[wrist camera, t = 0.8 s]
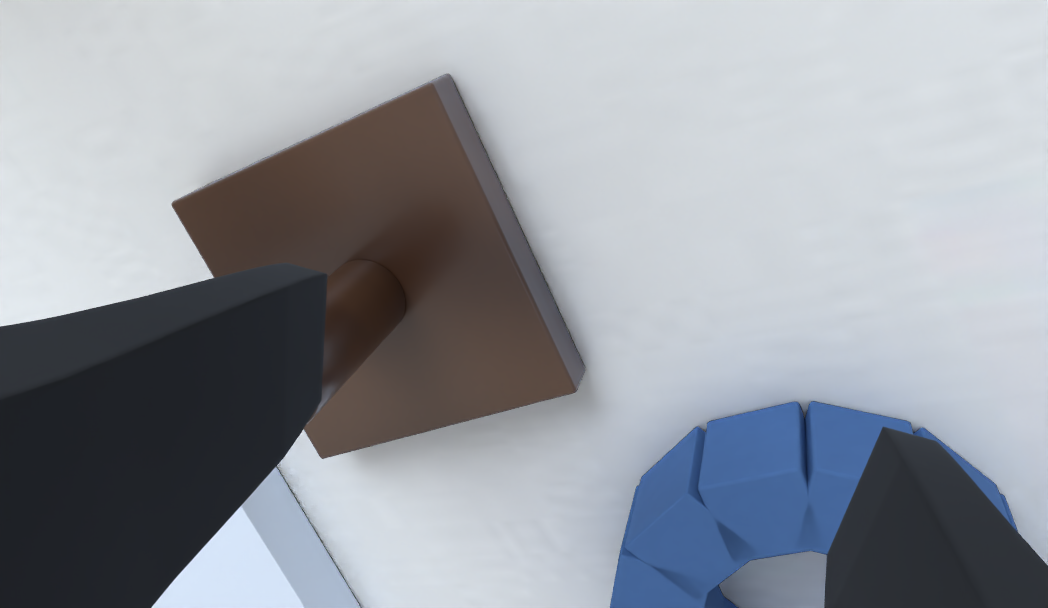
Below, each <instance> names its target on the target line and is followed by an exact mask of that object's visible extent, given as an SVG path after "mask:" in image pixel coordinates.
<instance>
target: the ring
mask: <svg viewBox="0 0 1048 608" xmlns="http://www.w3.org/2000/svg"><path fill="white" fill-rule="evenodd" d="M883 426H884V427H887V428H891V429H894V430H898V431H902V432H905V433H909V434H913V431H912V427H911V423H910V422H908V421H905V420H900V419H895V418H890V417H886V416H881V415H876V414H871V413H867V412H862V411H857V410H852V409H847V408H843V407H838V406H833V405H828V404H824V403H819V402H814V401H813V402H811V403H810V404H809V406H808V410H807V413H806V417H805V418H804V415H803V412H802V410H801V407H800V404H799V403H798V402H791V403H787V404H782V405H778V406H774V407H769V408H765V409H761V410H756V411H752V412H748V413H743V414H739V415H735V416H730V417H726V418H722V419H717V420H713V421H709V422H708V423H707V428H706V432H705V431H703V430H702V429H701V428H699V427H698V426H697V427H696V428H694V429H693V430H692V431H691V432H690V433H689V434H688V435H687V436H686V437H685V438H684V439H682V440H681V441H680V442H679V443H678V444H677V445H676V446H675V447H674V448H673V449H672V450H671V451H669V452H668V453H667V454H666V455H665V456H664V457H663V458H662V459H661V460H660V461H659V462H658V463H656V464H655V465H654V466H653V467H652V468H651V469H650V470H649V471H648V472H647V473H646V474H644V475H643V476H642V478H641V481H640V485H639V486H637V487H636V490H635V494H634V498H633V502H632V506H631V510H630V514H629V518H628V522H627V526H626V530H625V534H624V538H623V542H622V546H621V550H620V554H619V559H618V565H617V571H616V576H615V582H614V587H613V593H612V599H611V604H610V608H738V607H737V606H735V605H734V604H733V603H731V602H730V601H729V600H728V599H726V598H725V597H724V596H723V595H722V592H721V590H720V588H719V586H718V585H719V584H720V583H721V582H722V581H724V580H725V579H726V578H728V577H729V576H730V575H732V574H733V573H734V572H736V571H737V570H738V569H739V568H741V567H742V566H743V565H745V564H746V563H747V562H749V561H750V560H756V559H762V558H768V557H775V556H781V555H787V554H794V553H800V552H806V551H814V552H818V553H822V554H826V555H827V553H828V551H829V549H830V547H831V544H832V542H833V540H834V537H835V535H836V533H837V531H838V528H839V526H840V524H841V521H842V519H843V517H844V515H845V512H846V510H847V508H848V505H849V503H850V501H851V498H852V496H853V494H854V492H855V489H856V487H857V485H858V482H859V480H860V478H861V476H862V473H863V471H864V469H865V466H866V464H867V462H868V459H869V457H870V455H871V453H872V450H873V448H874V446H875V443H876V441H877V439H878V437H879V434H880V432H881V430H882V427H883ZM913 435H916V436H920V437H924V438H927V439H931V440H934V441H937V442H938V443H939V444H940V445H941V446H942V447H943V448H944V449H945V450H946V451H947V452H948V453H949V454H950V455H951V456H952V457H953V458H954V459H955V460H956V462H957V463H958V464H959V465H960V466H961V467H962V468H963V469H964V471H965V472H966V473H967V474H968V475H969V476H970V477H971V479H972V480H973V481H974V482H975V483H976V484H977V486H978V487H979V488H980V489H981V490H982V491H983V493H984V494H985V495H986V496H987V497H988V498H989V500H990V501H991V502H992V503H993V504H994V505H995V507H996V508H997V509H998V510H999V511H1000V512H1001V514H1002V515H1003V516H1004V517H1005V518H1006V519H1007V520H1008V522H1009V523H1010V524H1011V525H1012V526H1013V527H1014V529H1015V530H1016V531H1017V528H1016V525H1015V523H1014V520H1013V517H1012V515H1011V512H1010V509H1009V507H1008V504H1007V501H1006V499H1005V496H1004V495H1002V494H999V491H998V488H997V486H996V484H995V483H993V482H992V481H991V480H989V479H988V478H987V477H986V476H984V475H983V474H982V473H981V472H979V471H978V470H977V469H976V468H974V467H973V466H972V465H970V464H969V463H968V462H967V461H965V460H964V459H963V458H962V457H960V456H959V455H958V454H956V453H955V452H954V451H953V450H951V449H950V448H949V447H948V446H946V445H945V444H944V443H942V442H941V441H940V440H939V439H937V438H936V437H935V436H934V435H932V434H931V433H930V432H928V431H927V430H926V429H925V428H920V429H919V430H918V431H916V432H915V433H914V434H913ZM1017 532H1018V531H1017Z"/></svg>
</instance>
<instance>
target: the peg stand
mask: <svg viewBox="0 0 1048 608" xmlns="http://www.w3.org/2000/svg"><path fill="white" fill-rule="evenodd" d="M172 207H173V209H174V210H175V212H176V214H177V215H178V217H179V219H180V221H181V222H182V224H183V226H184V227H185V229H186V231H187V232H188V234H189V236H190V237H191V239H192V241H193V243H194V244H195V246H196V248H197V249H198V251H199V253H200V254H201V256H202V258H203V259H204V261H205V263H206V265H207V266H208V268H209V270H210V271H211V273H212V275H213V276H214V278H216V277H220V276H224V275H228V274H232V273H236V272H240V271H244V270H248V269H252V268H257V267H261V266H266V265H272V264H279V263H290V264H294V265H297V266H301V267H305V268H308V269H312V270H315V271H319V272H323V273H326V274H327V295H326V316H325V337H324V357H323V378H322V399H321V402H320V404H319V405H318V407H317V408H316V410H315V411H314V413H313V415H312V416H311V418H310V419H309V421H308V422H307V424H306V426H305V427H304V430H305V432H306V434H307V436H308V437H309V439H310V441H311V442H312V444H313V446H314V447H315V449H316V451H317V453H318V454H319V456H320V457H321V458H322V459H324V458H328V457H332V456H335V455H339V454H343V453H347V452H351V451H354V450H358V449H362V448H366V447H370V446H374V445H377V444H381V443H385V442H389V441H393V440H396V439H400V438H404V437H408V436H412V435H416V434H419V433H423V432H427V431H431V430H435V429H438V428H442V427H446V426H450V425H454V424H458V423H461V422H465V421H469V420H473V419H477V418H480V417H484V416H488V415H492V414H496V413H500V412H503V411H507V410H511V409H515V408H519V407H522V406H526V405H530V404H534V403H538V402H541V401H545V400H549V399H553V398H557V397H561V396H564V395H568V394H572V393H575V392H576V391H577V389H578V387H579V384H580V382H581V380H582V377H583V375H584V372H585V367H584V364H583V362H582V360H581V358H580V356H579V354H578V351H577V349H576V347H575V345H574V343H573V341H572V338H571V336H570V334H569V332H568V330H567V328H566V325H565V323H564V321H563V319H562V317H561V315H560V312H559V310H558V308H557V306H556V304H555V301H554V299H553V297H552V295H551V293H550V291H549V288H548V286H547V284H546V282H545V280H544V278H543V275H542V273H541V271H540V269H539V267H538V265H537V262H536V260H535V258H534V256H533V254H532V251H531V249H530V247H529V245H528V243H527V241H526V238H525V236H524V234H523V232H522V230H521V228H520V225H519V223H518V221H517V219H516V217H515V215H514V212H513V210H512V208H511V206H510V204H509V202H508V199H507V197H506V195H505V193H504V191H503V188H502V186H501V184H500V182H499V180H498V178H497V175H496V173H495V171H494V169H493V167H492V165H491V162H490V160H489V158H488V156H487V154H486V152H485V149H484V147H483V145H482V143H481V141H480V138H479V136H478V134H477V132H476V130H475V128H474V125H473V123H472V121H471V119H470V117H469V115H468V112H467V110H466V108H465V106H464V104H463V102H462V99H461V97H460V95H459V93H458V91H457V89H456V86H455V84H454V82H453V80H452V78H451V76H450V75H449V74H445V75H443V76H440V77H438V78H436V79H434V80H432V81H430V82H428V83H425V84H423V85H421V86H419V87H417V88H415V89H413V90H410V91H408V92H406V93H404V94H402V95H400V96H397V97H395V98H393V99H391V100H389V101H387V102H385V103H382V104H380V105H378V106H376V107H374V108H372V109H369V110H367V111H365V112H363V113H361V114H359V115H357V116H354V117H352V118H350V119H348V120H346V121H344V122H341V123H339V124H337V125H335V126H333V127H331V128H329V129H326V130H324V131H322V132H320V133H318V134H316V135H313V136H311V137H309V138H307V139H305V140H303V141H301V142H298V143H296V144H294V145H292V146H290V147H288V148H285V149H283V150H281V151H279V152H277V153H275V154H273V155H270V156H268V157H266V158H264V159H262V160H260V161H257V162H255V163H253V164H251V165H249V166H247V167H245V168H242V169H240V170H238V171H236V172H234V173H232V174H230V175H227V176H225V177H223V178H221V179H219V180H217V181H214V182H212V183H210V184H208V185H206V186H204V187H202V188H199V189H197V190H195V191H193V192H191V193H189V194H187V195H185V196H183V197H181V198H179V199H177V200H175V201H173V203H172Z"/></svg>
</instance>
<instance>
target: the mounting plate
mask: <svg viewBox="0 0 1048 608" xmlns="http://www.w3.org/2000/svg"><path fill="white" fill-rule="evenodd" d="M151 608H361V607H360V605H359V604H358V602H357V600H356V599H355V597H354V595H353V594H352V592H351V590H350V589H349V587H348V585H347V584H346V582H345V580H344V579H343V577H342V575H341V574H340V572H339V570H338V569H337V567H336V566H335V564H334V562H333V561H332V559H331V557H330V556H329V554H328V552H327V551H326V549H325V547H324V546H323V544H322V542H321V541H320V539H319V537H318V536H317V534H316V532H315V531H314V529H313V527H312V526H311V524H310V522H309V521H308V519H307V517H306V516H305V514H304V512H303V511H302V509H301V507H300V506H299V504H298V502H297V501H296V499H295V497H294V496H293V494H292V492H291V491H290V489H289V487H288V486H287V484H286V482H285V481H284V479H283V477H282V476H281V474H280V472H279V471H278V469H277V467H275V468H274V469H273V471H272V472H271V473H270V474H269V475H268V476H267V477H266V478H265V480H264V481H263V482H262V483H261V484H260V485H259V486H258V487H257V489H256V490H255V491H254V492H253V493H252V494H251V495H250V496H249V498H248V499H247V500H246V501H245V502H244V503H243V504H242V505H241V507H240V508H239V509H238V510H237V511H236V512H235V513H234V514H233V515H232V516H231V518H230V519H229V520H228V521H227V522H226V523H225V524H224V525H223V526H222V528H221V529H220V530H219V531H218V532H217V533H216V534H215V535H214V536H213V537H212V539H211V540H210V541H209V542H208V543H207V544H206V545H205V546H204V547H203V549H202V550H201V551H200V552H199V553H198V554H197V555H196V556H195V557H194V558H193V560H192V561H191V562H190V563H189V564H188V565H187V566H186V567H185V568H184V570H183V571H182V572H181V573H180V574H179V575H178V576H177V577H176V578H175V580H174V581H173V582H172V583H171V584H170V586H169V587H168V588H167V589H166V590H165V592H164V593H163V594H162V595H161V597H160V598H159V599H158V600H157V601H156V603H155V604H154V605H153V606H152V607H151Z"/></svg>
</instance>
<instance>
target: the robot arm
mask: <svg viewBox="0 0 1048 608" xmlns="http://www.w3.org/2000/svg"><path fill="white" fill-rule="evenodd" d="M326 295H327V274H326V273H323V272H319V271H315V270H312V269H308V268H305V267H301V266H297V265H294V264H290V263H279V264H272V265H266V266H261V267H257V268H252V269H248V270H244V271H240V272H236V273H232V274H228V275H224V276H220V277H216V278H213V279H209V280H205V281H201V282H197V283H194V284H190V285H186V286H182V287H178V288H175V289H171V290H167V291H163V292H159V293H155V294H152V295H148V296H144V297H140V298H136V299H131V300H127V301H123V302H118V303H114V304H110V305H105V306H101V307H97V308H92V309H88V310H83V311H79V312H75V313H70V314H66V315H62V316H57V317H52V318H47V319H42V320H36V321H31V322H25V323H20V324H14V325H8V326H1V327H0V608H151V607H152V606H153V605H154V604H155V603H156V601H157V600H158V599H159V598H160V597H161V595H162V594H163V593H164V592H165V590H166V589H167V588H168V587H169V586H170V584H171V583H172V582H173V581H174V580H175V578H176V577H177V576H178V575H179V574H180V573H181V572H182V571H183V570H184V568H185V567H186V566H187V565H188V564H189V563H190V562H191V561H192V560H193V558H194V557H195V556H196V555H197V554H198V553H199V552H200V551H201V550H202V549H203V547H204V546H205V545H206V544H207V543H208V542H209V541H210V540H211V539H212V537H213V536H214V535H215V534H216V533H217V532H218V531H219V530H220V529H221V528H222V526H223V525H224V524H225V523H226V522H227V521H228V520H229V519H230V518H231V516H232V515H233V514H234V513H235V512H236V511H237V510H238V509H239V508H240V507H241V505H242V504H243V503H244V502H245V501H246V500H247V499H248V498H249V496H250V495H251V494H252V493H253V492H254V491H255V490H256V489H257V487H258V486H259V485H260V484H261V483H262V482H263V481H264V480H265V478H266V477H267V476H268V475H269V474H270V473H271V472H272V471H273V469H274V468H275V467H276V466H277V465H278V464H279V462H280V461H281V460H282V459H283V458H284V456H285V455H286V454H287V452H288V451H289V449H290V448H291V446H292V445H293V443H294V442H295V441H296V439H297V438H298V436H299V435H300V433H301V432H302V430H303V429H304V427H305V426H306V424H307V422H308V421H309V419H310V418H311V416H312V415H313V413H314V411H315V410H316V408H317V407H318V405H319V404H320V402H321V399H322V378H323V357H324V337H325V316H326ZM824 608H1048V566H1047V565H1046V563H1045V562H1044V561H1043V560H1042V559H1041V558H1040V557H1039V556H1038V555H1037V553H1036V552H1035V551H1034V550H1033V549H1032V548H1031V547H1030V546H1029V544H1028V543H1027V542H1026V541H1025V540H1024V539H1023V538H1022V537H1021V535H1020V534H1019V533H1018V532H1017V531H1016V530H1015V529H1014V527H1013V526H1012V525H1011V524H1010V523H1009V522H1008V520H1007V519H1006V518H1005V517H1004V516H1003V515H1002V514H1001V512H1000V511H999V510H998V509H997V508H996V507H995V505H994V504H993V503H992V502H991V501H990V500H989V498H988V497H987V496H986V495H985V494H984V493H983V491H982V490H981V489H980V488H979V487H978V486H977V484H976V483H975V482H974V481H973V480H972V479H971V477H970V476H969V475H968V474H967V473H966V472H965V471H964V469H963V468H962V467H961V466H960V465H959V464H958V463H957V462H956V460H955V459H954V458H953V457H952V456H951V455H950V454H949V453H948V452H947V451H946V450H945V449H944V448H943V447H942V446H941V445H940V444H939V443H938V442H937V441H934V440H931V439H927V438H924V437H920V436H916V435H913V434H909V433H905V432H902V431H898V430H894V429H891V428H887V427H884V426H883V427H882V430H881V432H880V434H879V437H878V439H877V441H876V443H875V446H874V448H873V450H872V453H871V455H870V457H869V459H868V462H867V464H866V466H865V469H864V471H863V473H862V476H861V478H860V480H859V482H858V485H857V487H856V489H855V492H854V494H853V496H852V498H851V501H850V503H849V505H848V508H847V510H846V512H845V515H844V517H843V519H842V521H841V524H840V526H839V528H838V531H837V533H836V535H835V537H834V540H833V542H832V544H831V547H830V549H829V551H828V553H827V567H826V584H825V607H824Z"/></svg>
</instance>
